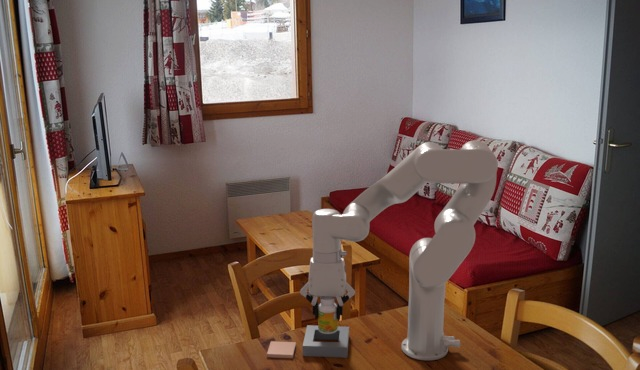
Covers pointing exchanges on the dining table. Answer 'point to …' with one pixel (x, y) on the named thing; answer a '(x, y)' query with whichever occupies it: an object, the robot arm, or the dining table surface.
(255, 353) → the dining table surface
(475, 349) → the dining table surface
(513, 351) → the dining table surface
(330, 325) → the supplement bottle
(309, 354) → the frame
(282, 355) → the mat
